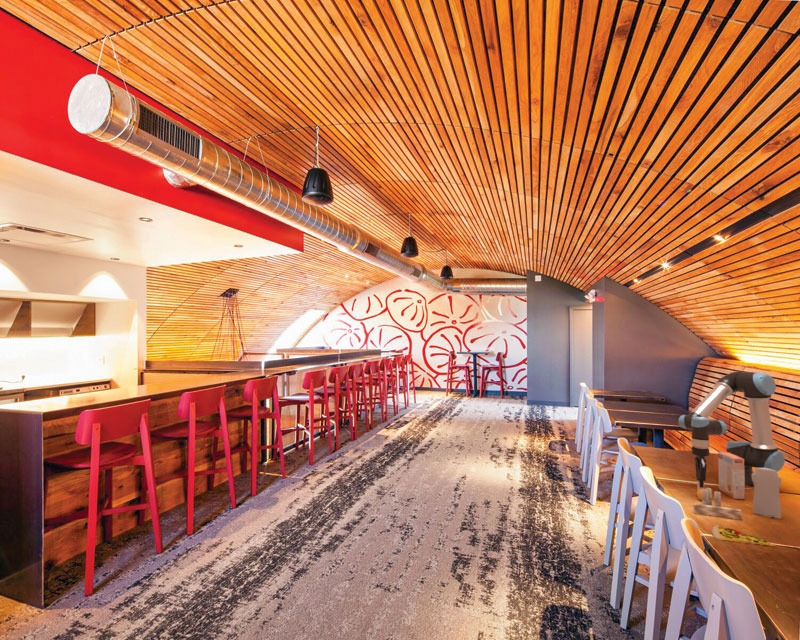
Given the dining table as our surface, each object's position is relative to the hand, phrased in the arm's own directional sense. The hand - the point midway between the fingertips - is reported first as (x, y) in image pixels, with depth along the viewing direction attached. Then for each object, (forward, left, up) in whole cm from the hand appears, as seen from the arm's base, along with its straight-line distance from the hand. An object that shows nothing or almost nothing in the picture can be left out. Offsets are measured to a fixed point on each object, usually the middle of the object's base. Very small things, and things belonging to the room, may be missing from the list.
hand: (700, 493), depth 223 cm
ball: (0, +5, +1) cm, 5 cm away
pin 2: (-3, +17, -2) cm, 17 cm away
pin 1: (+2, +17, -2) cm, 17 cm away
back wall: (0, +25, -2) cm, 25 cm away
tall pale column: (-22, +15, -3) cm, 27 cm away
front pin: (0, +12, -2) cm, 13 cm away
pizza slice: (-3, +50, -3) cm, 50 cm away
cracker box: (-16, -12, -3) cm, 20 cm away
